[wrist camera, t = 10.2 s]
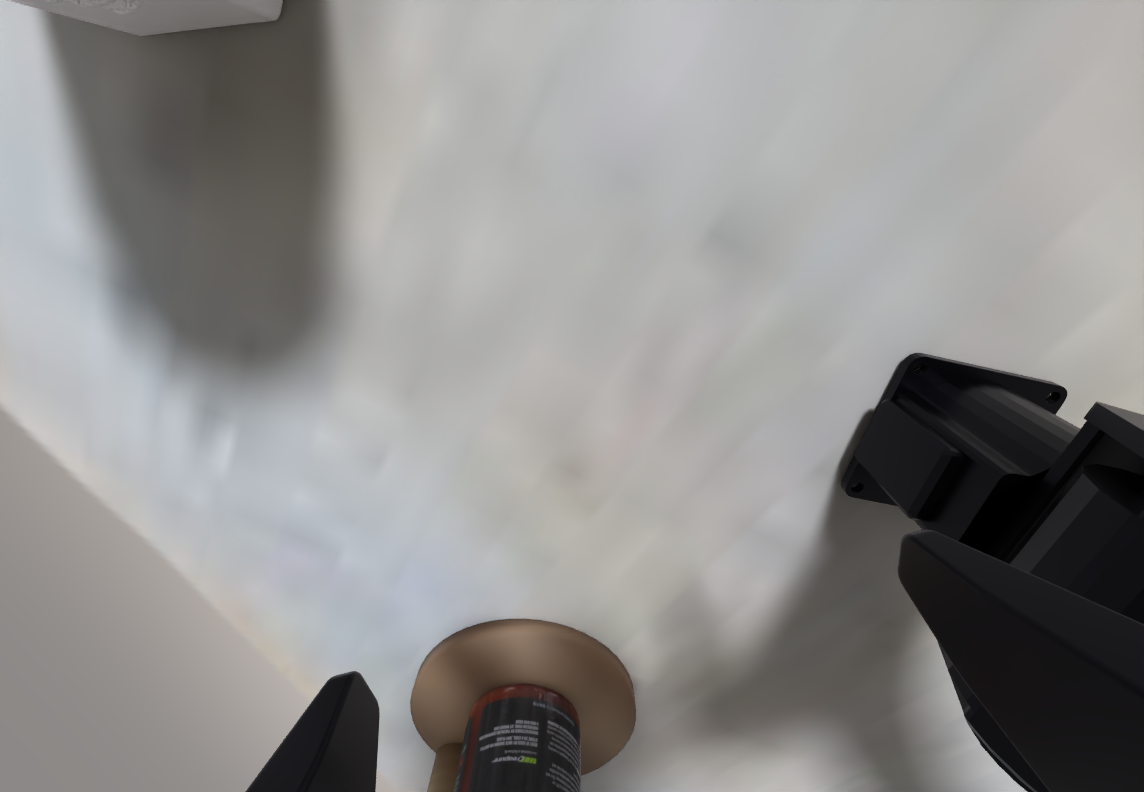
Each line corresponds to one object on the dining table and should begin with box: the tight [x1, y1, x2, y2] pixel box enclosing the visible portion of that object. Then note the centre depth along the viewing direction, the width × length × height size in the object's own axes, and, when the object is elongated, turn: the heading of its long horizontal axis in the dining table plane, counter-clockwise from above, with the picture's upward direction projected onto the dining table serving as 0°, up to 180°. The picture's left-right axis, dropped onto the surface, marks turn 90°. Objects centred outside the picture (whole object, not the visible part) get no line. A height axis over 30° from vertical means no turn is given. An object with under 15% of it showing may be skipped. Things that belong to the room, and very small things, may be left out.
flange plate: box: [410, 619, 636, 792], centre depth 26 cm, size 12×12×7 cm
